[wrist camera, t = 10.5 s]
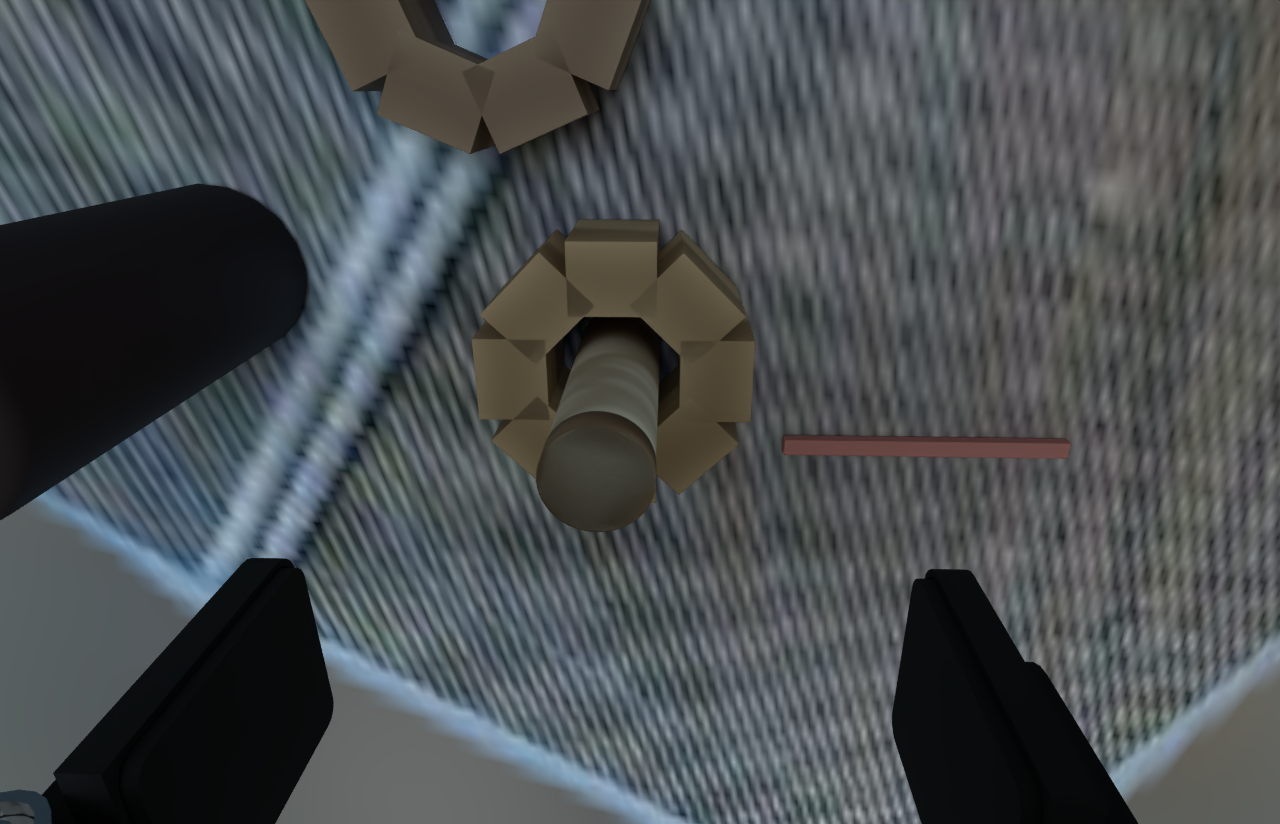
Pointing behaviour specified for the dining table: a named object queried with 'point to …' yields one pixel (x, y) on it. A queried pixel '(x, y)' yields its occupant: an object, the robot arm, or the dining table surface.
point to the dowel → (605, 429)
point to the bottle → (129, 320)
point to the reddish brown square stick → (926, 446)
